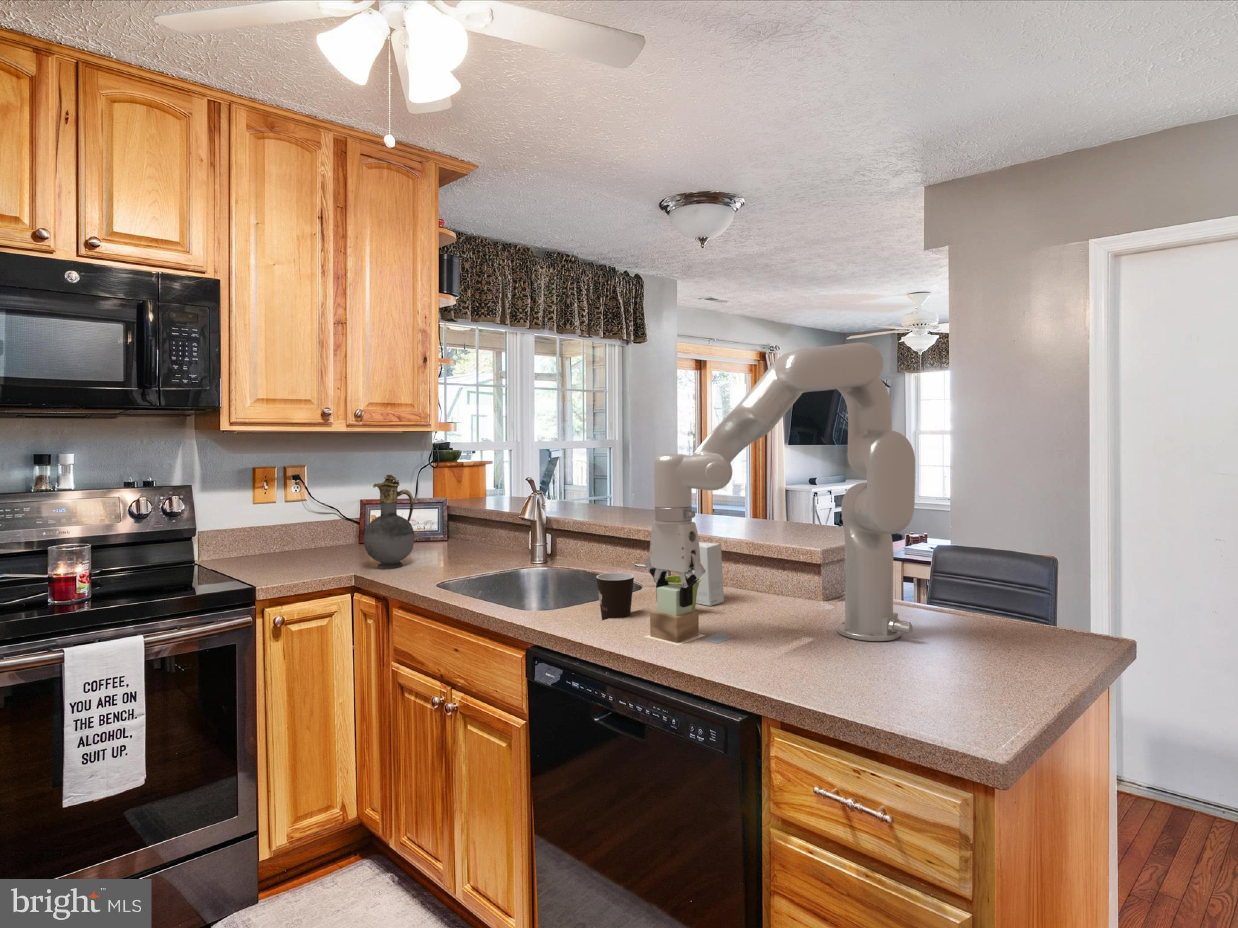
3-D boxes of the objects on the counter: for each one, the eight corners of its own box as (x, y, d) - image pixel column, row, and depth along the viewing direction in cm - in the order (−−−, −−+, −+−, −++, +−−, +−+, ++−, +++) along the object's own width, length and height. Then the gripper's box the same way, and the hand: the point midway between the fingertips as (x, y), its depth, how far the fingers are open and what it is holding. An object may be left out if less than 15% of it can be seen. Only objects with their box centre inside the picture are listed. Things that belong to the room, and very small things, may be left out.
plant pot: (654, 618, 167) (653, 581, 167) (670, 609, 175) (670, 573, 175) (692, 623, 163) (691, 584, 162) (707, 613, 171) (706, 576, 171)
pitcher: (359, 570, 232) (356, 476, 230) (402, 560, 249) (400, 472, 247) (384, 572, 227) (381, 476, 225) (427, 562, 244) (424, 472, 242)
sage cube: (691, 611, 148) (691, 587, 148) (676, 616, 145) (675, 591, 144) (672, 607, 152) (672, 583, 152) (657, 612, 148) (656, 587, 148)
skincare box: (724, 602, 181) (723, 543, 180) (709, 607, 177) (708, 546, 176) (698, 597, 187) (697, 540, 186) (682, 601, 183) (682, 542, 182)
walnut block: (698, 635, 149) (698, 611, 148) (677, 642, 143) (676, 617, 143) (672, 629, 153) (671, 605, 153) (650, 636, 148) (650, 612, 148)
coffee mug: (630, 625, 161) (630, 580, 161) (593, 623, 163) (592, 579, 163) (639, 612, 173) (639, 570, 172) (604, 611, 175) (603, 569, 174)
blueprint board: (745, 642, 147) (744, 636, 147) (696, 661, 136) (696, 654, 136) (668, 624, 161) (668, 619, 161) (619, 640, 150) (619, 635, 150)
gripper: (718, 516, 144) (719, 606, 145) (653, 510, 156) (654, 594, 157) (695, 520, 139) (696, 614, 139) (629, 514, 150) (630, 600, 151)
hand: (674, 602), depth 148 cm, fingers open, 5 cm apart
